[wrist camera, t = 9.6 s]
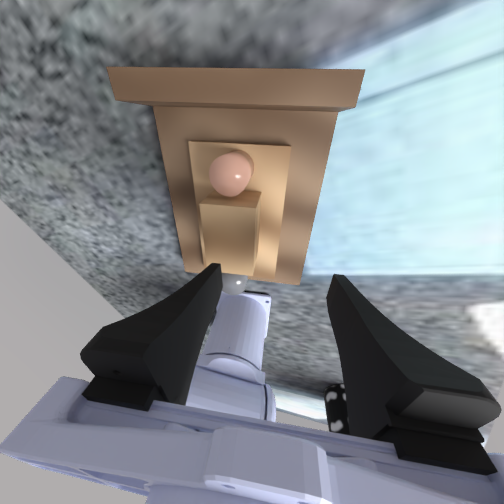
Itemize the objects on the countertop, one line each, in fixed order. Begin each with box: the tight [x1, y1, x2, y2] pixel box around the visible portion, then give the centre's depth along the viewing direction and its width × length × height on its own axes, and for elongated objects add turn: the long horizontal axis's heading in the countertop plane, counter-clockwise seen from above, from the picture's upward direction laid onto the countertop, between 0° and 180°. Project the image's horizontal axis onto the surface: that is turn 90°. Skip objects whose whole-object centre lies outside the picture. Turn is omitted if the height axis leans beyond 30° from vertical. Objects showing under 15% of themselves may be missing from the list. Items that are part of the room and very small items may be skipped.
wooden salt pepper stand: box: [188, 141, 291, 295], centre depth 17 cm, size 13×8×5 cm, turn 178°
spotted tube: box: [324, 384, 350, 435], centre depth 31 cm, size 8×8×20 cm
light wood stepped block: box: [106, 67, 365, 285], centre depth 18 cm, size 18×14×6 cm
